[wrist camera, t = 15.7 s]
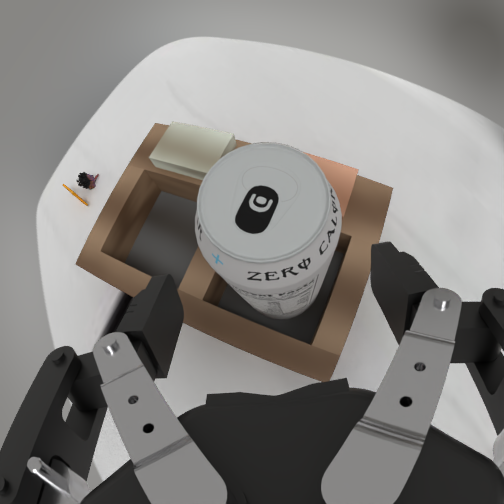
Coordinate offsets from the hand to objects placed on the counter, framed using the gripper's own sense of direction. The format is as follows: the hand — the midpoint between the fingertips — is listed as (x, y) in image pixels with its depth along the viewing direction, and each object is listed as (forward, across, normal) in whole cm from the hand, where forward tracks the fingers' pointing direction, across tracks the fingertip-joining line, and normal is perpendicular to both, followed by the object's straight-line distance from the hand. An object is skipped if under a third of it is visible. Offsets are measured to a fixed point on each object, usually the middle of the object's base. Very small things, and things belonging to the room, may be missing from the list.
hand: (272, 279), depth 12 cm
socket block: (+14, +4, +5) cm, 15 cm away
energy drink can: (+11, 0, +7) cm, 13 cm away
